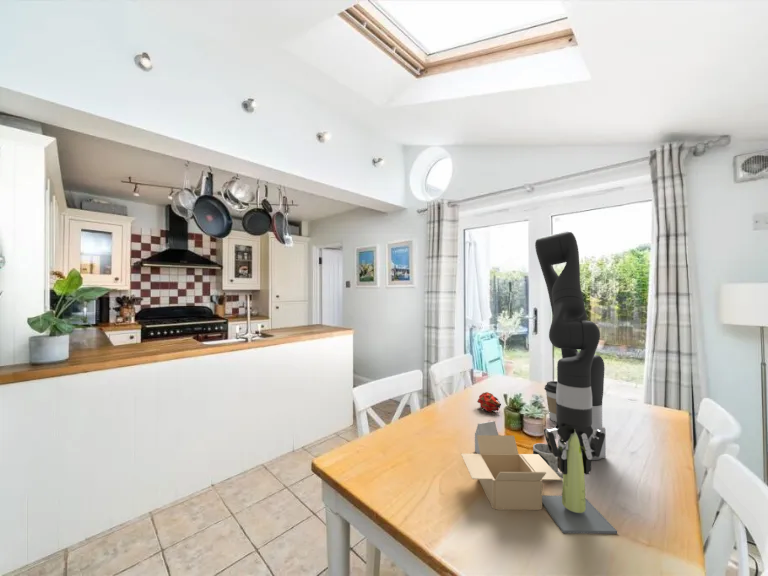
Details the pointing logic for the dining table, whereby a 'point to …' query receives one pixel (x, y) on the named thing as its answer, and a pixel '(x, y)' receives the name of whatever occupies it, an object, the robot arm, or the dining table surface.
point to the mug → (547, 456)
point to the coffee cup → (551, 399)
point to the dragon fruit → (488, 402)
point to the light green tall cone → (574, 478)
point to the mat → (577, 517)
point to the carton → (508, 473)
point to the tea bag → (485, 432)
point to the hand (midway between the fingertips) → (573, 472)
